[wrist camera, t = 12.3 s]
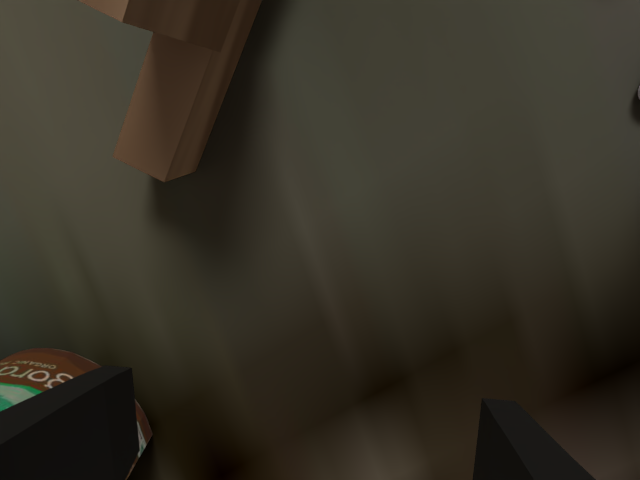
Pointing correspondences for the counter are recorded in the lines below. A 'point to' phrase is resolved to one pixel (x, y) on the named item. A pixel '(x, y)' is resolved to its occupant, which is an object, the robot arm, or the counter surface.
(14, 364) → the food container
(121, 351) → the counter surface
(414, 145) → the counter surface
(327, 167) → the counter surface
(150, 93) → the l-shaped wooden block
